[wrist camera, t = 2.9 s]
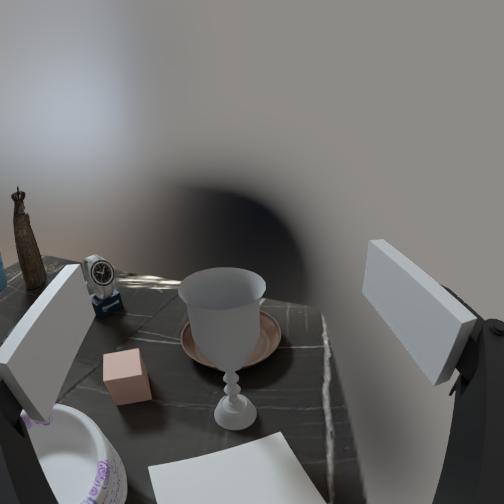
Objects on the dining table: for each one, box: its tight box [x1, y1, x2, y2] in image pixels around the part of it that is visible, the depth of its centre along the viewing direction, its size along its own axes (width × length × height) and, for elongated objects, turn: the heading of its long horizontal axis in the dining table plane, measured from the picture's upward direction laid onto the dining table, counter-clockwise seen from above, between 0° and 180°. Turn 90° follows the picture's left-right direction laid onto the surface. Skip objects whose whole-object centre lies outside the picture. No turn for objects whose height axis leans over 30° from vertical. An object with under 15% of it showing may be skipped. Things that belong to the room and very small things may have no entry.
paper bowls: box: [20, 404, 127, 504], centre depth 17 cm, size 15×15×8 cm
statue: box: [11, 187, 46, 289], centre depth 57 cm, size 9×8×25 cm
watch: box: [83, 255, 123, 319], centre depth 50 cm, size 6×8×11 cm
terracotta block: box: [103, 348, 152, 405], centre depth 34 cm, size 5×5×5 cm
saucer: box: [181, 310, 281, 370], centre depth 43 cm, size 15×15×3 cm
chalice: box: [178, 268, 266, 430], centre depth 28 cm, size 7×7×18 cm
